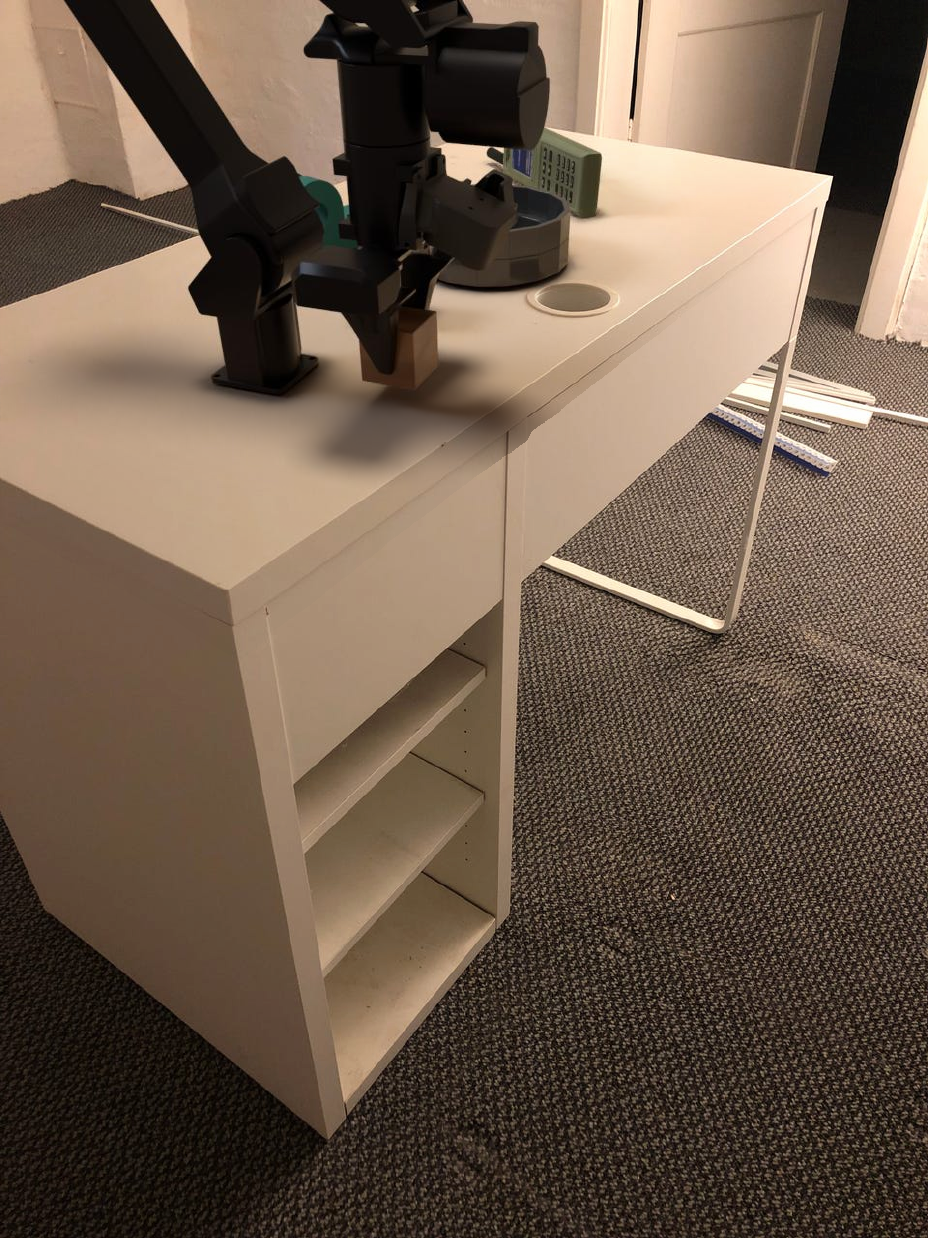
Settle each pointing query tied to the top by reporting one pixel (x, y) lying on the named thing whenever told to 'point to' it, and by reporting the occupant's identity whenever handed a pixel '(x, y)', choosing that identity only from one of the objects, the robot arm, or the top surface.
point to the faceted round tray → (524, 244)
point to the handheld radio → (556, 170)
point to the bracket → (329, 210)
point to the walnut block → (408, 351)
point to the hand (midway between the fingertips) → (399, 360)
